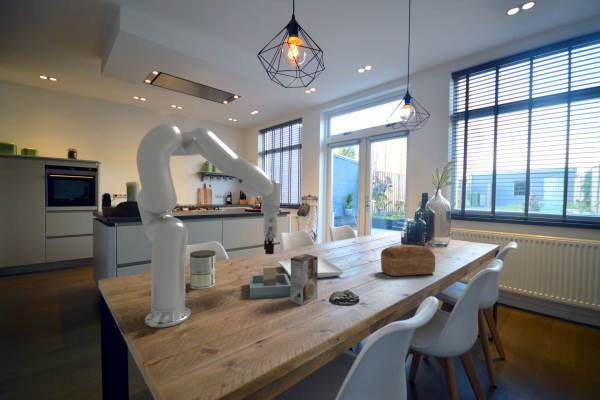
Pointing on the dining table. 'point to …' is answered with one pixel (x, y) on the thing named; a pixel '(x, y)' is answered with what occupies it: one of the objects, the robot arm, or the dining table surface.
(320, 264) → the square plate
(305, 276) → the coffee box
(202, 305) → the dining table surface
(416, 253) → the bread
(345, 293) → the dark grey coiled lump
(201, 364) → the dining table surface
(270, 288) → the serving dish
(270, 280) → the oak block
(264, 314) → the dining table surface
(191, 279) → the coffee can
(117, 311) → the dining table surface
